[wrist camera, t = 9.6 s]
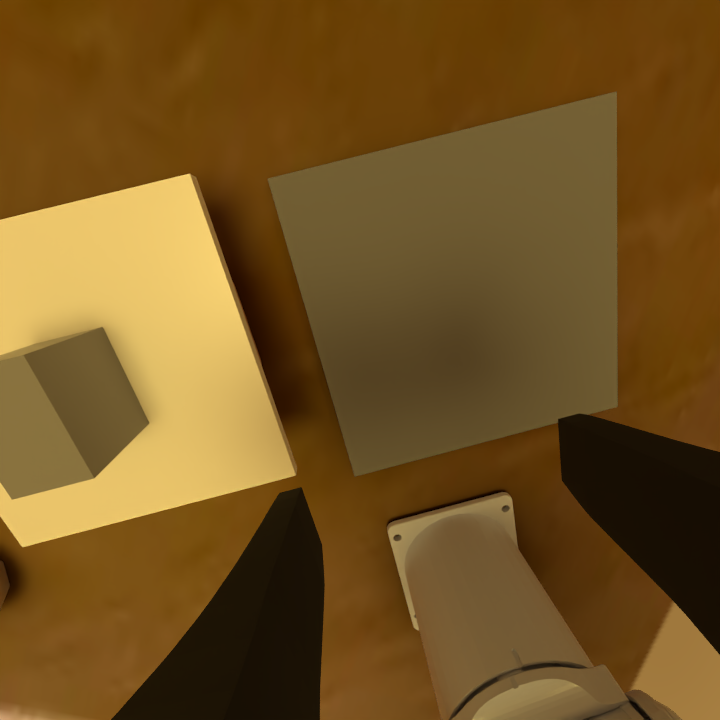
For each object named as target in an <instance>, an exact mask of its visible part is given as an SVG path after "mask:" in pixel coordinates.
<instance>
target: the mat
mask: <svg viewBox="0 0 720 720" xmlns="http://www.w3.org/2000/svg"><path fill="white" fill-rule="evenodd" d="M268 182H269V185H270V189H271V192H272V196H273V199H274V203H275V206H276V209H277V213H278V216H279V220H280V223H281V226H282V230H283V233H284V237H285V240H286V244H287V247H288V250H289V254H290V257H291V261H292V264H293V267H294V271H295V274H296V278H297V281H298V285H299V288H300V291H301V295H302V298H303V302H304V305H305V308H306V312H307V315H308V319H309V322H310V326H311V329H312V332H313V336H314V339H315V343H316V346H317V349H318V353H319V356H320V360H321V363H322V367H323V370H324V373H325V377H326V380H327V384H328V387H329V390H330V394H331V397H332V401H333V404H334V408H335V411H336V414H337V418H338V421H339V425H340V428H341V431H342V435H343V438H344V442H345V445H346V449H347V452H348V455H349V459H350V462H351V466H352V469H353V472H354V476H359V475H363V474H367V473H370V472H374V471H378V470H382V469H385V468H389V467H393V466H397V465H400V464H404V463H408V462H412V461H415V460H419V459H423V458H427V457H430V456H434V455H438V454H442V453H445V452H449V451H453V450H457V449H460V448H464V447H468V446H472V445H476V444H479V443H483V442H487V441H491V440H494V439H498V438H502V437H506V436H509V435H513V434H517V433H521V432H524V431H528V430H532V429H536V428H539V427H543V426H547V425H551V424H554V423H558V419H560V418H564V417H567V416H571V415H575V414H579V413H581V414H585V415H588V414H592V413H596V412H600V411H603V410H607V409H611V408H615V407H618V378H617V92H613V93H609V94H605V95H601V96H597V97H593V98H589V99H585V100H581V101H577V102H573V103H569V104H565V105H561V106H557V107H553V108H549V109H545V110H541V111H537V112H533V113H529V114H525V115H521V116H517V117H513V118H509V119H505V120H501V121H497V122H493V123H489V124H485V125H481V126H477V127H473V128H469V129H465V130H461V131H457V132H453V133H449V134H445V135H441V136H437V137H433V138H429V139H425V140H421V141H417V142H413V143H409V144H405V145H401V146H397V147H393V148H389V149H385V150H381V151H377V152H373V153H369V154H365V155H361V156H357V157H353V158H349V159H345V160H341V161H337V162H333V163H329V164H325V165H321V166H317V167H313V168H309V169H305V170H301V171H297V172H293V173H289V174H285V175H281V176H277V177H273V178H269V179H268Z"/></svg>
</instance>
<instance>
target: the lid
mask: <svg viewBox="0 0 720 720" xmlns="http://www.w3.org/2000/svg"><path fill="white" fill-rule="evenodd" d="M296 471H297V466H296V463H295V460H294V457H293V454H292V452H291V449H290V446H289V443H288V440H287V437H286V434H285V431H284V429H283V426H282V423H281V420H280V417H279V414H278V411H277V408H276V405H275V403H274V400H273V397H272V394H271V391H270V388H269V385H268V382H267V380H266V377H265V374H264V371H263V368H262V365H261V362H260V359H259V357H258V354H257V351H256V348H255V345H254V342H253V339H252V336H251V334H250V331H249V328H248V325H247V322H246V319H245V316H244V313H243V311H242V308H241V305H240V302H239V299H238V296H237V293H236V290H235V288H234V285H233V282H232V279H231V276H230V273H229V270H228V267H227V265H226V262H225V259H224V256H223V253H222V250H221V247H220V244H219V241H218V239H217V236H216V233H215V230H214V227H213V224H212V221H211V218H210V216H209V213H208V210H207V207H206V204H205V201H204V198H203V195H202V193H201V190H200V187H199V184H198V181H197V178H196V177H195V176H193V175H191V174H186V175H182V176H178V177H174V178H170V179H166V180H162V181H158V182H153V183H149V184H145V185H141V186H137V187H133V188H129V189H125V190H121V191H117V192H112V193H108V194H104V195H100V196H96V197H92V198H88V199H84V200H80V201H76V202H71V203H67V204H63V205H59V206H55V207H51V208H47V209H43V210H39V211H35V212H30V213H26V214H22V215H18V216H14V217H10V218H6V219H2V220H0V517H1V518H2V519H3V521H4V522H5V524H6V525H7V526H8V528H9V529H10V531H11V532H12V533H13V535H14V536H15V538H16V539H17V541H18V542H19V543H20V545H21V546H22V547H25V546H29V545H33V544H36V543H40V542H44V541H48V540H52V539H55V538H59V537H63V536H67V535H71V534H75V533H78V532H82V531H86V530H90V529H94V528H98V527H101V526H105V525H109V524H113V523H117V522H120V521H124V520H128V519H132V518H136V517H140V516H143V515H147V514H151V513H155V512H159V511H163V510H166V509H170V508H174V507H178V506H182V505H185V504H189V503H193V502H197V501H201V500H205V499H208V498H212V497H216V496H220V495H224V494H227V493H231V492H235V491H239V490H243V489H247V488H250V487H254V486H258V485H262V484H266V483H270V482H273V481H277V480H281V479H285V478H289V477H292V476H296Z"/></svg>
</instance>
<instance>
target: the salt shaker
mask: <svg viewBox="0 0 720 720" xmlns="http://www.w3.org/2000/svg"><path fill="white" fill-rule="evenodd" d="M9 587H10V583H9V580H8V576H7V573H6V569H5V566H4V562H3V561H1V560H0V610H1V607H2V605H3V602H4V600H5V597H6V595H7V592H8V589H9Z"/></svg>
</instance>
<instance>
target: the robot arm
mask: <svg viewBox="0 0 720 720" xmlns="http://www.w3.org/2000/svg"><path fill="white" fill-rule="evenodd" d="M558 427H559V442H560V458H561V473H562V481H563V482H564V484H565V485H566V486H567V488H568V489H569V490H570V492H571V493H572V494H573V496H574V497H575V498H576V500H577V501H578V502H579V503H580V505H581V506H582V507H583V508H584V510H585V511H586V512H587V513H588V514H589V515H590V516H591V518H592V519H593V520H594V521H595V522H596V523H597V524H598V525H599V526H600V527H601V528H602V529H603V530H604V531H605V532H606V533H607V534H608V535H609V536H610V537H611V538H612V539H613V540H614V541H615V542H616V543H617V544H618V545H619V546H620V547H621V548H622V549H623V550H624V551H625V552H626V553H627V554H628V555H629V556H630V557H631V558H632V559H633V560H634V561H635V562H636V563H637V564H638V565H639V566H640V567H641V568H642V569H643V570H644V571H645V572H646V573H647V574H648V575H649V577H650V578H651V579H652V580H653V581H654V582H655V583H656V584H657V585H658V586H659V587H660V588H661V589H662V590H663V591H664V592H665V593H666V594H667V595H668V596H669V597H670V598H671V599H672V600H673V601H674V602H675V603H676V604H677V606H678V607H679V608H680V609H681V610H682V611H683V612H684V613H685V614H686V615H687V617H688V618H689V619H690V620H691V621H692V622H693V624H694V625H695V626H696V627H697V628H698V629H699V631H700V632H701V633H702V634H703V635H704V637H705V638H706V639H707V640H708V641H709V642H710V644H711V645H712V646H713V647H714V648H715V649H716V651H717V652H718V653H719V654H720V452H717V451H713V450H709V449H706V448H702V447H698V446H695V445H691V444H687V443H684V442H680V441H677V440H673V439H670V438H666V437H663V436H659V435H656V434H652V433H649V432H646V431H642V430H639V429H635V428H632V427H629V426H625V425H622V424H619V423H615V422H612V421H608V420H605V419H601V418H597V417H594V416H590V415H585V414H581V413H579V414H575V415H571V416H567V417H564V418H560V419H558ZM505 505H506V506H505ZM503 506H505V507H503ZM502 507H503V508H502ZM387 531H388V535H389V539H390V543H391V546H392V550H393V554H394V557H395V561H396V565H397V568H398V572H399V576H400V579H401V583H402V587H403V590H404V594H405V598H406V601H407V605H408V609H409V612H410V616H411V620H412V623H413V627H414V629H416V630H419V631H420V635H421V639H422V643H423V647H424V651H425V655H426V659H427V663H428V667H429V671H430V675H431V679H432V683H433V687H434V691H435V695H436V699H437V703H438V707H439V712H440V716H441V720H682V719H681V718H680V717H679V716H678V715H677V714H676V713H674V712H673V711H672V710H671V709H669V708H668V707H666V706H665V705H663V704H661V703H659V702H657V701H656V700H654V699H653V698H652V697H650V696H649V695H648V694H646V693H644V692H642V691H641V690H632V691H629V692H626V693H624V692H623V691H622V689H621V688H620V686H619V685H618V683H617V682H616V680H615V679H614V677H613V676H612V674H611V673H610V672H609V670H608V669H607V667H606V666H605V665H603V664H602V665H599V666H595V667H594V666H593V664H592V663H591V661H590V660H589V658H588V657H587V655H586V654H585V652H584V650H583V649H582V647H581V646H580V644H579V643H578V641H577V640H576V638H575V636H574V635H573V633H572V632H571V630H570V629H569V627H568V626H567V624H566V623H565V621H564V619H563V618H562V616H561V615H560V613H559V612H558V610H557V609H556V607H555V605H554V604H553V602H552V601H551V599H550V598H549V596H548V595H547V593H546V591H545V590H544V588H543V587H542V585H541V584H540V582H539V581H538V579H537V577H536V576H535V574H534V573H533V571H532V570H531V568H530V567H529V565H528V563H527V562H526V560H525V559H524V557H523V556H522V554H521V553H520V551H519V549H518V543H517V535H516V527H515V519H514V510H513V502H512V498H511V496H510V495H509V494H508V493H506V492H501V493H497V494H493V495H489V496H486V497H482V498H478V499H474V500H471V501H467V502H463V503H460V504H456V505H452V506H448V507H445V508H441V509H437V510H434V511H430V512H426V513H422V514H419V515H415V516H411V517H408V518H404V519H400V520H396V521H393V522H391V523H389V524H388V526H387ZM395 535H399V536H395ZM324 585H325V584H324V566H323V553H322V544H321V541H320V538H319V535H318V532H317V530H316V527H315V524H314V521H313V518H312V516H311V513H310V510H309V507H308V504H307V502H306V499H305V496H304V493H303V490H302V487H300V488H297V489H293V490H289V491H285V492H282V493H279V495H278V496H277V498H276V500H275V501H274V503H273V504H272V506H271V508H270V509H269V511H268V513H267V514H266V516H265V518H264V519H263V521H262V523H261V524H260V526H259V528H258V529H257V531H256V533H255V534H254V536H253V538H252V539H251V541H250V542H249V544H248V546H247V547H246V549H245V550H244V552H243V554H242V555H241V557H240V558H239V560H238V561H237V563H236V565H235V566H234V568H233V569H232V570H231V572H230V573H229V575H228V576H227V578H226V579H225V581H224V582H223V584H222V585H221V587H220V588H219V589H218V591H217V592H216V594H215V595H214V597H213V598H212V600H211V601H210V602H209V604H208V605H207V606H206V608H205V609H204V610H203V612H202V613H201V614H200V616H199V617H198V618H197V620H196V621H195V622H194V624H193V625H192V626H191V627H190V629H189V630H188V631H187V632H186V634H185V635H184V636H183V637H182V639H181V640H180V641H179V642H178V644H177V645H176V646H175V647H174V649H173V650H172V651H171V652H170V653H169V655H168V656H167V657H166V658H165V659H164V661H163V662H162V663H161V664H160V665H159V666H158V667H157V669H156V670H155V671H154V672H153V673H152V674H151V675H150V676H149V678H148V679H147V680H146V681H145V682H144V683H143V684H142V686H141V687H140V688H139V689H138V690H137V691H136V692H135V694H134V695H133V696H132V697H131V698H130V699H129V700H128V701H127V703H126V704H125V705H124V706H123V707H122V708H121V709H120V711H119V712H118V713H117V714H116V715H115V716H114V717H113V718H112V719H111V720H320V677H321V655H322V633H323V611H324Z"/></svg>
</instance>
